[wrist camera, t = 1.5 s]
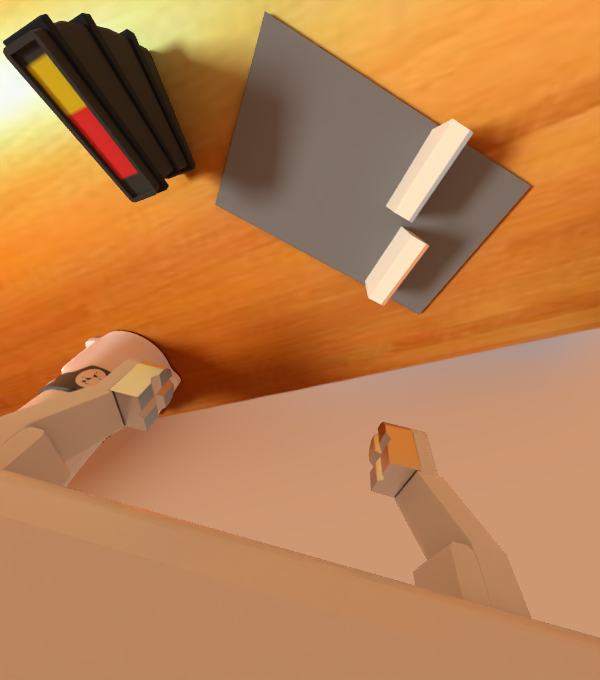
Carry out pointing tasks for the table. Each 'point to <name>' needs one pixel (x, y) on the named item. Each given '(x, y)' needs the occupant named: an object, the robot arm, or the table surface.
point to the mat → (350, 168)
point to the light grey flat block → (428, 168)
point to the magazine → (105, 99)
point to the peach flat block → (394, 265)
